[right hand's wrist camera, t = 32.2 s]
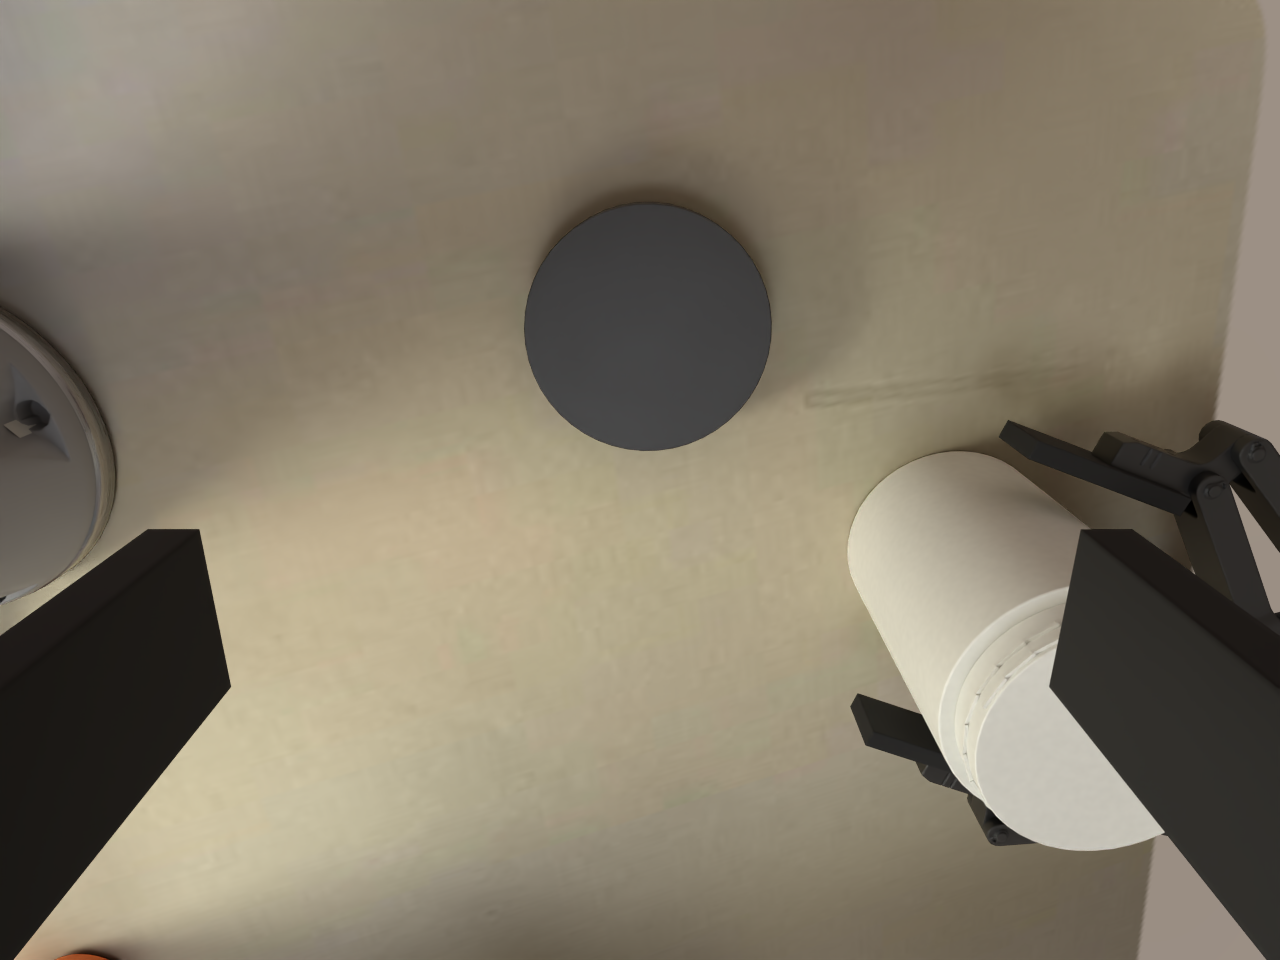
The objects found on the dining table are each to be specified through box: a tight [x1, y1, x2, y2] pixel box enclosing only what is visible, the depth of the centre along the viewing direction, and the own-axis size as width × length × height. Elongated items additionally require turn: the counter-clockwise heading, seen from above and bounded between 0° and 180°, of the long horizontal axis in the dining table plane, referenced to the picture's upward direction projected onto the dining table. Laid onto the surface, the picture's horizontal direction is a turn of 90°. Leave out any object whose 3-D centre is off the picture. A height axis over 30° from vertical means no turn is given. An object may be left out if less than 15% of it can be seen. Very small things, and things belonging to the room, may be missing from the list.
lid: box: [524, 202, 772, 451], centre depth 36 cm, size 10×10×2 cm
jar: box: [847, 451, 1165, 851], centre depth 33 cm, size 10×10×15 cm
